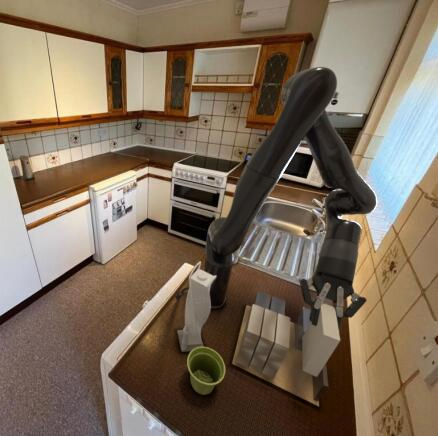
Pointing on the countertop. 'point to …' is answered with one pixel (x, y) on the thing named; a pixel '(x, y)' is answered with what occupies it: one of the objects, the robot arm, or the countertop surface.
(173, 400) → the countertop surface
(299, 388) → the book board
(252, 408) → the countertop surface
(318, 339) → the white book
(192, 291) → the skyscraper
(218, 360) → the plant pot
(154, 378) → the countertop surface
